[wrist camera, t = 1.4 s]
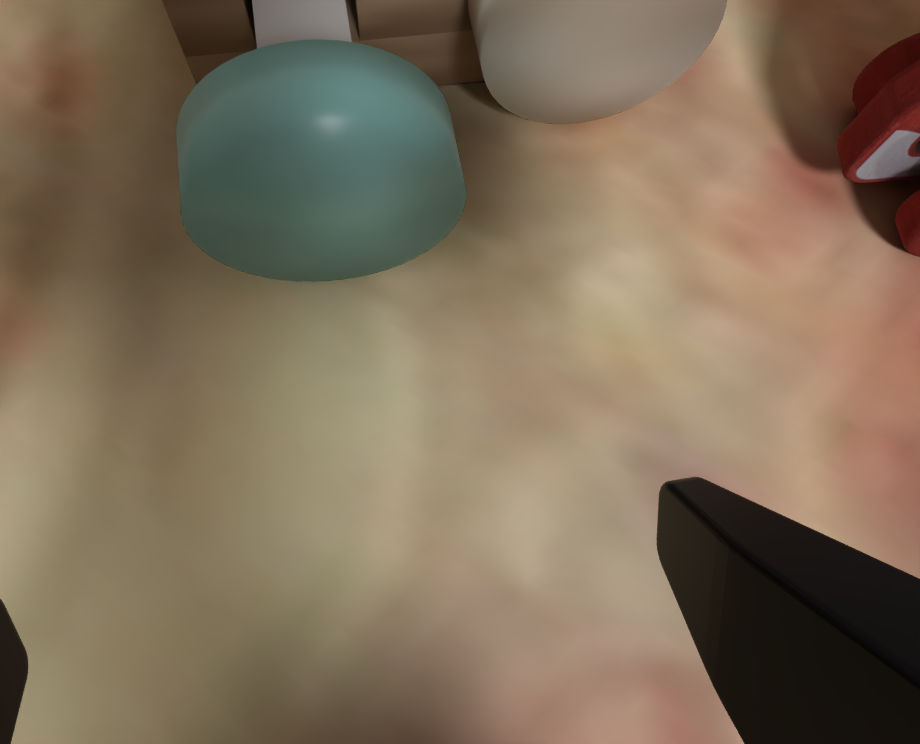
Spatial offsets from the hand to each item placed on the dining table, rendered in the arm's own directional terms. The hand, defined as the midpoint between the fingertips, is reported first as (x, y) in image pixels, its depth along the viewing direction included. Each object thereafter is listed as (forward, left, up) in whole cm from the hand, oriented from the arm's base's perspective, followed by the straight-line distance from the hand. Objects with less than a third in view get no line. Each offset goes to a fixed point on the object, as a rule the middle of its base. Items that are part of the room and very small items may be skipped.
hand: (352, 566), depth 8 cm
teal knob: (+8, +15, -13) cm, 21 cm away
